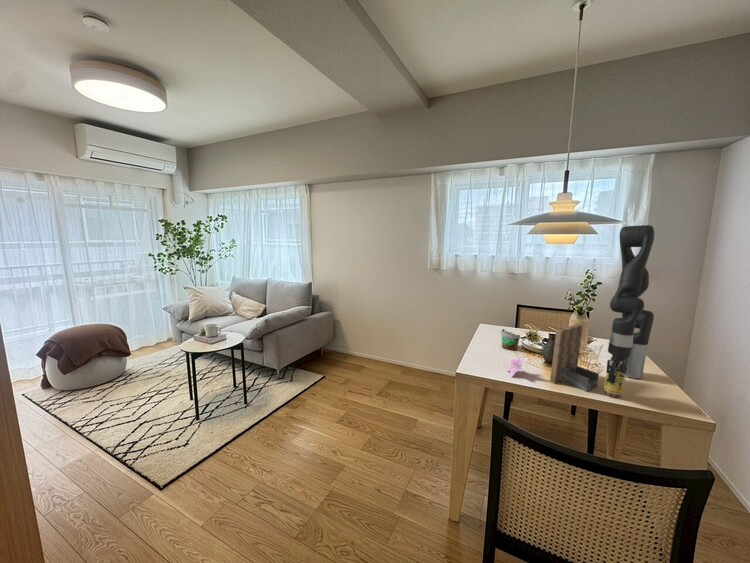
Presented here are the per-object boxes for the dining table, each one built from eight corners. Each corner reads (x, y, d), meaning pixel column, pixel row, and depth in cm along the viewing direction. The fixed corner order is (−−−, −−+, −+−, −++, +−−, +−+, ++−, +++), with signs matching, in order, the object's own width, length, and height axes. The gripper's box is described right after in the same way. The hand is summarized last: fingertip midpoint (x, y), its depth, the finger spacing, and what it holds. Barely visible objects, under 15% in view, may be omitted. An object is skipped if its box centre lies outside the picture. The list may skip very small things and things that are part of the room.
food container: (494, 345, 184) (496, 329, 182) (502, 344, 186) (503, 328, 184) (511, 352, 173) (513, 336, 171) (519, 351, 175) (520, 335, 173)
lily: (509, 368, 155) (502, 353, 153) (533, 365, 149) (527, 349, 147) (508, 384, 145) (501, 369, 143) (534, 382, 139) (527, 366, 137)
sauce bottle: (601, 394, 129) (608, 350, 126) (604, 389, 133) (610, 347, 130) (621, 400, 124) (628, 355, 121) (623, 395, 129) (630, 351, 125)
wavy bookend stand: (572, 372, 150) (578, 324, 145) (602, 383, 139) (609, 331, 135) (550, 381, 139) (556, 330, 135) (580, 394, 128) (588, 339, 124)
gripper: (617, 337, 132) (611, 373, 134) (602, 343, 124) (596, 380, 127) (638, 343, 125) (632, 380, 128) (624, 349, 118) (617, 388, 121)
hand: (614, 380), depth 128 cm, fingers closed on sauce bottle, 6 cm apart
